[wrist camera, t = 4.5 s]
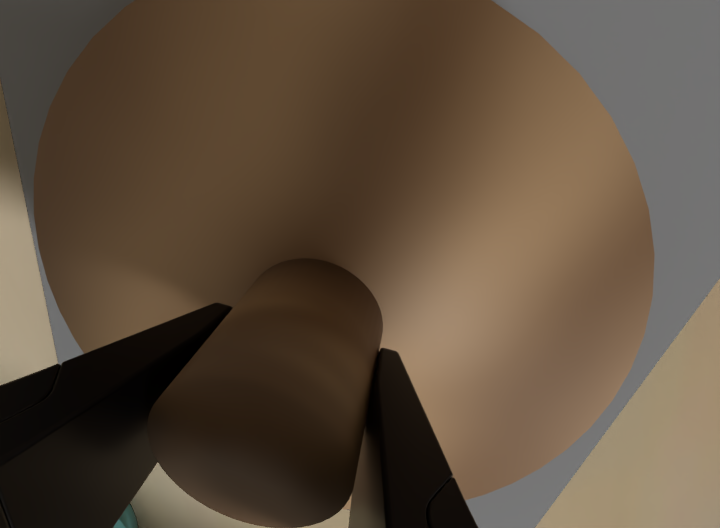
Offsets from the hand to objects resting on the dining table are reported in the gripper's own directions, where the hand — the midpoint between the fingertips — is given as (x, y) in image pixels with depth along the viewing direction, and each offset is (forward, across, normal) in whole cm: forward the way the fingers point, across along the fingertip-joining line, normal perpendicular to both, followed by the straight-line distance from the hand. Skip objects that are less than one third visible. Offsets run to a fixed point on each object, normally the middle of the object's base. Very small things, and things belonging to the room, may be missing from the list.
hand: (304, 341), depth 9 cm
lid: (+2, 0, 0) cm, 2 cm away
